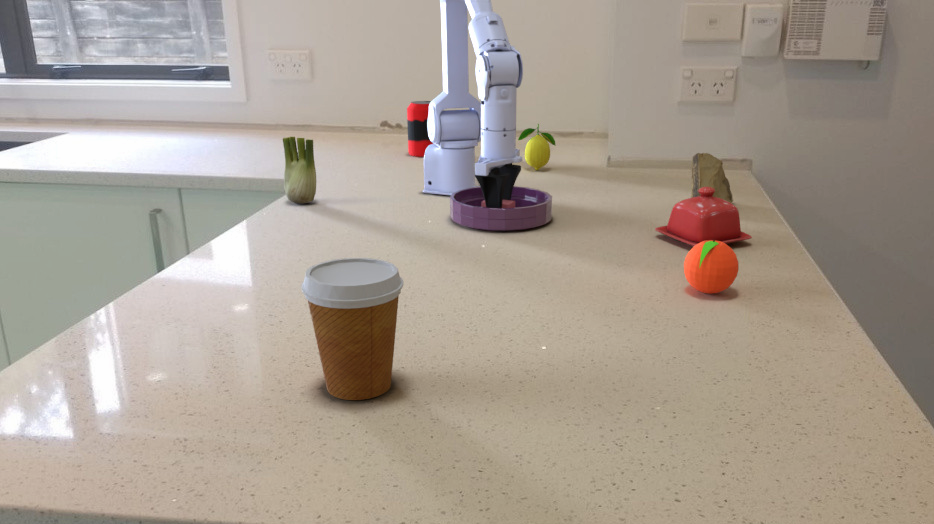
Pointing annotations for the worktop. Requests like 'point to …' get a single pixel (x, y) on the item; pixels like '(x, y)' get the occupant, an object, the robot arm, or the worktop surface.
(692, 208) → the butter dish
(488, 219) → the bowl
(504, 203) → the eraser
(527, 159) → the lemon
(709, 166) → the rock
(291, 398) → the worktop surface
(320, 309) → the disposable coffee cup
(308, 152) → the fennel bulb
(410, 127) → the soda can
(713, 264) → the clementine
